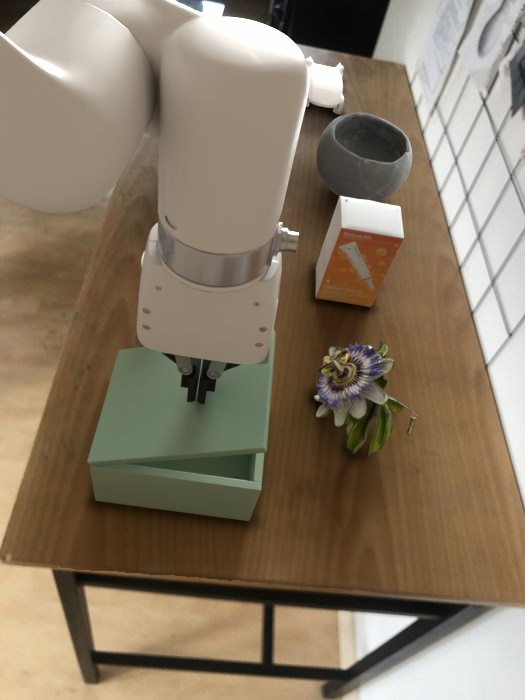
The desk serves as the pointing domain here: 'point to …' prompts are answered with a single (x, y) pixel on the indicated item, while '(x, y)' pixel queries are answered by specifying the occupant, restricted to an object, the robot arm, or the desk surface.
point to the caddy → (185, 485)
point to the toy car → (325, 86)
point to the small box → (358, 251)
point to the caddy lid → (180, 412)
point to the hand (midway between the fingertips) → (198, 389)
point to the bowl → (363, 157)
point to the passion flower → (359, 394)
